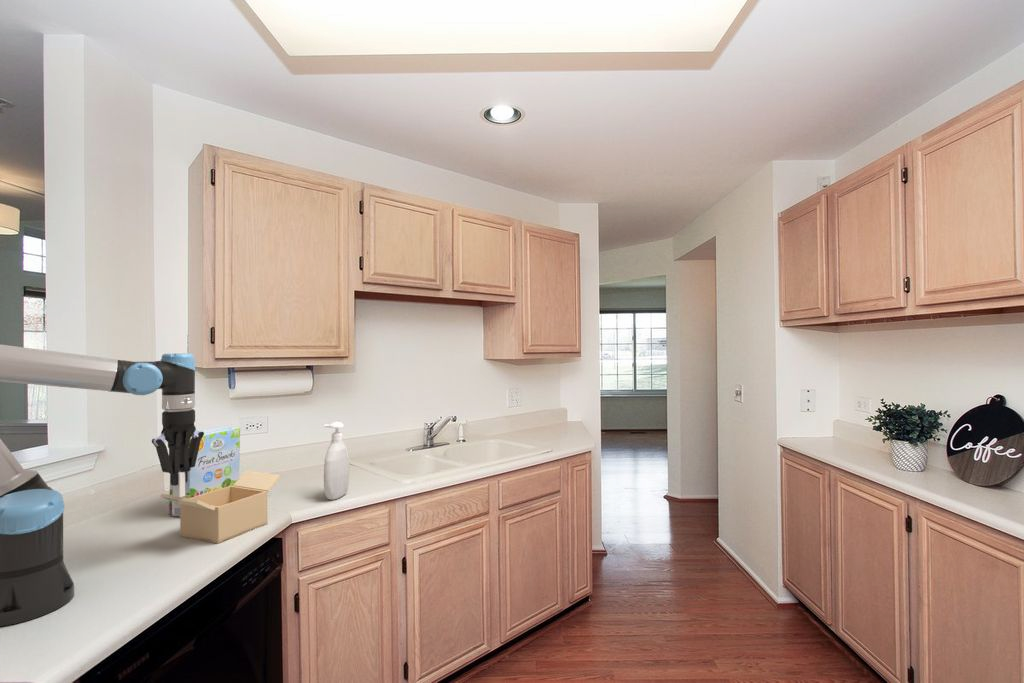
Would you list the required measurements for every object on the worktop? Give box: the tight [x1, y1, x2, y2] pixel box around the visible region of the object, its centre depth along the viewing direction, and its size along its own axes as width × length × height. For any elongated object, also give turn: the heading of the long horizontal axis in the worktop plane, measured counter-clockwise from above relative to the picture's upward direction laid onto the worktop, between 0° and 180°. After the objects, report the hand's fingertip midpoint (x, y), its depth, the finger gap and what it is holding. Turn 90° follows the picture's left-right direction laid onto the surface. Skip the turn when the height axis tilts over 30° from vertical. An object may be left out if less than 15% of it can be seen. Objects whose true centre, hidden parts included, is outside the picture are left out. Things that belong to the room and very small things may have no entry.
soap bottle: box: [323, 421, 351, 501], centre depth 177 cm, size 14×8×27 cm, turn 170°
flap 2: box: [234, 470, 282, 493], centre depth 156 cm, size 6×15×1 cm
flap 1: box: [160, 493, 216, 510], centre depth 135 cm, size 6×15×1 cm
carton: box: [179, 486, 268, 545], centre depth 146 cm, size 16×16×10 cm
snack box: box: [168, 426, 241, 517], centre depth 167 cm, size 22×9×26 cm, turn 168°
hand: (179, 496), depth 133 cm, fingers closed
